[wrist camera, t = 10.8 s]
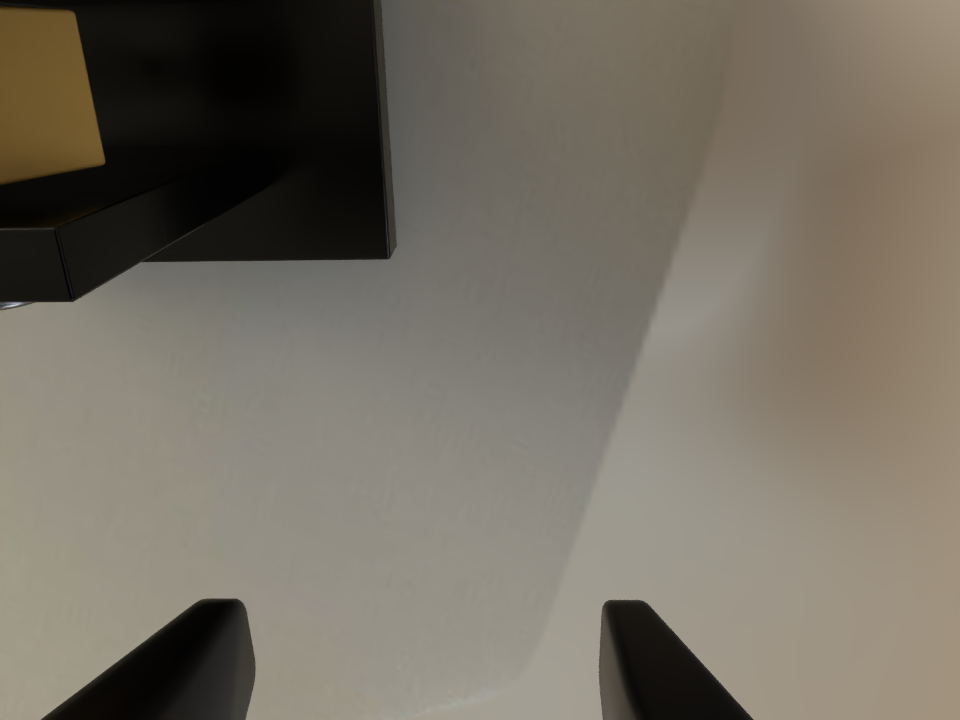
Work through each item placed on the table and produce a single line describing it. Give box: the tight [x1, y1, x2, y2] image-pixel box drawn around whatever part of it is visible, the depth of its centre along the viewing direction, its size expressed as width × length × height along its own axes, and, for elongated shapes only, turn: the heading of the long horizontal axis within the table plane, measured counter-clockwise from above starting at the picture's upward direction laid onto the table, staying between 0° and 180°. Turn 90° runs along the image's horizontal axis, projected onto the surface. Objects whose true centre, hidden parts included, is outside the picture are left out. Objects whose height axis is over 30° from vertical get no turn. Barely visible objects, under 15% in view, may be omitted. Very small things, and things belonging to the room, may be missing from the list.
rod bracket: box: [0, 0, 397, 310], centre depth 13 cm, size 10×8×10 cm
